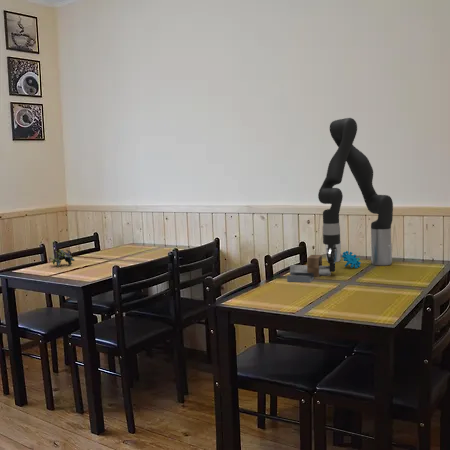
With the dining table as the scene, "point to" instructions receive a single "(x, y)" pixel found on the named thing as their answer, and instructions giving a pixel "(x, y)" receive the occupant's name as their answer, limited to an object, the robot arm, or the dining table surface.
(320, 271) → the axle
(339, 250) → the white cup
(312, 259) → the brown block
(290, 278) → the v block
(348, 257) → the gear
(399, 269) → the dining table surface
